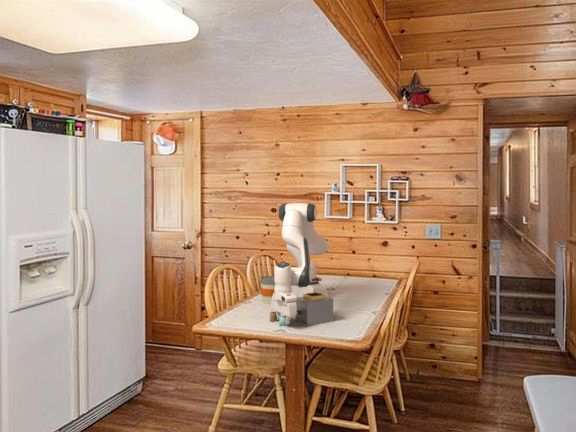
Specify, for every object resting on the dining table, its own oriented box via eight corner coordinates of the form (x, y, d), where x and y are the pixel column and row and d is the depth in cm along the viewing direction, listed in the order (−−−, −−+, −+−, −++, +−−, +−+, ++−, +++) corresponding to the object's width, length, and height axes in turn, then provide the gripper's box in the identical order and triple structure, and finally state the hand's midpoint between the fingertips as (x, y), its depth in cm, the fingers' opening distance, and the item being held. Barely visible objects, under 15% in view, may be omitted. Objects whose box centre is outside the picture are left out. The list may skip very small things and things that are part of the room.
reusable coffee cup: (281, 300, 319) (281, 276, 317) (279, 305, 306) (279, 280, 305) (261, 299, 320) (261, 275, 319) (258, 304, 307) (258, 279, 306)
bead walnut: (275, 319, 275) (275, 311, 274) (279, 321, 271) (279, 312, 271) (268, 320, 273) (268, 312, 272) (272, 322, 269) (272, 313, 269)
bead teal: (284, 324, 266) (284, 315, 266) (288, 325, 263) (288, 317, 262) (277, 325, 264) (277, 316, 264) (281, 327, 261) (281, 318, 260)
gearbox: (320, 316, 281) (320, 290, 280) (333, 321, 270) (333, 294, 269) (290, 321, 271) (290, 294, 270) (302, 326, 261) (302, 299, 260)
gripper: (267, 291, 270) (268, 318, 271) (287, 299, 252) (287, 327, 253) (278, 290, 273) (278, 316, 274) (298, 298, 255) (298, 325, 256)
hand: (283, 321), depth 263 cm, fingers open, 7 cm apart
